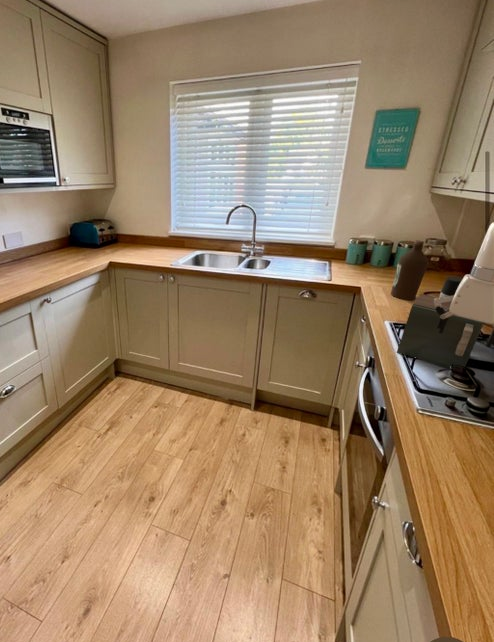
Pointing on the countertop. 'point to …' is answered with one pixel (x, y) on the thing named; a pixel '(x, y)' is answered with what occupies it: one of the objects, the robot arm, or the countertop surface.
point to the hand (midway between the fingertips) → (463, 338)
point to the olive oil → (410, 273)
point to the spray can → (450, 286)
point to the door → (439, 338)
